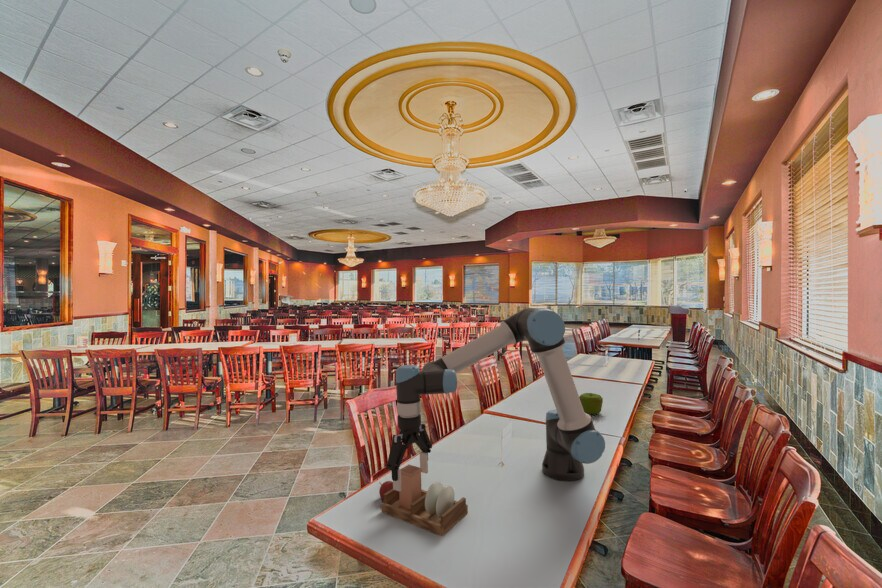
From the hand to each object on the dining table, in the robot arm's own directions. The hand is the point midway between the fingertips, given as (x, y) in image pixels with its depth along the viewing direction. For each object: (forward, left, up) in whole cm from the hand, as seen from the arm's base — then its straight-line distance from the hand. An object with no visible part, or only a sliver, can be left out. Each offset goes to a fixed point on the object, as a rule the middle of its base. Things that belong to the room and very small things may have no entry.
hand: (411, 480), depth 123 cm
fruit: (+11, 0, -9) cm, 14 cm away
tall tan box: (0, 0, -7) cm, 7 cm away
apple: (-24, -131, -8) cm, 134 cm away
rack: (-5, 0, -8) cm, 10 cm away
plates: (-11, 0, -7) cm, 13 cm away
